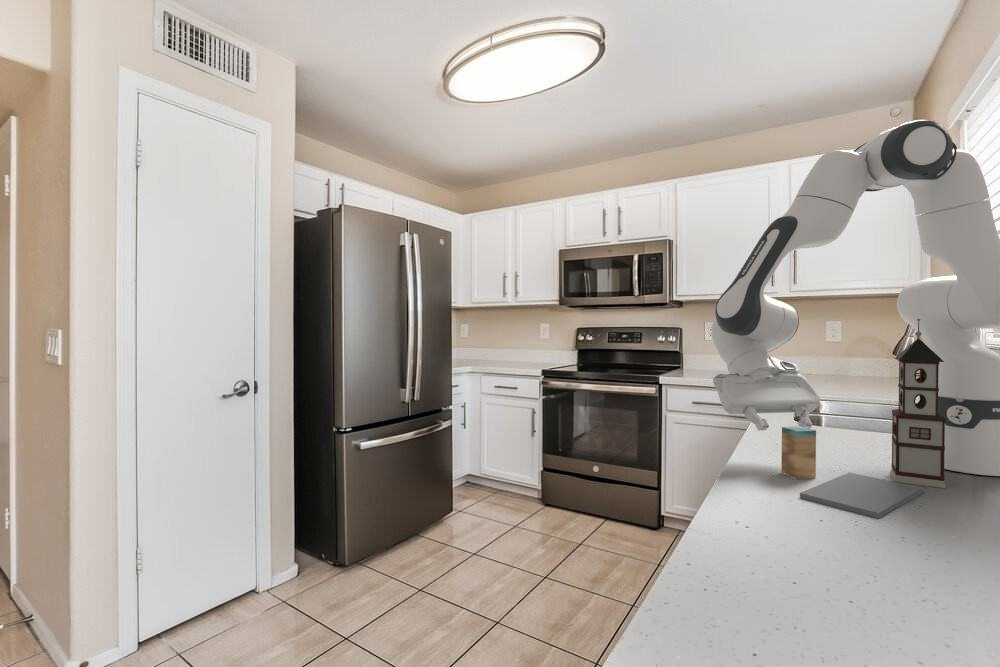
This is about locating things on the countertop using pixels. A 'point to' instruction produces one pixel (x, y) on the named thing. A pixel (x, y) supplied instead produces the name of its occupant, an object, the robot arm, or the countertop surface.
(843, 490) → the rubber mat
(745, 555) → the countertop surface
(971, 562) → the countertop surface
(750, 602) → the countertop surface
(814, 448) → the oak block
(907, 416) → the miniature building
